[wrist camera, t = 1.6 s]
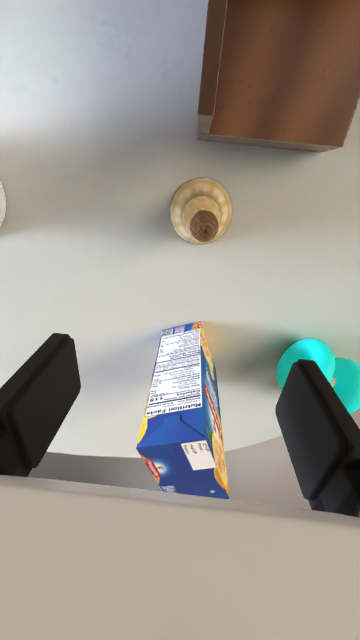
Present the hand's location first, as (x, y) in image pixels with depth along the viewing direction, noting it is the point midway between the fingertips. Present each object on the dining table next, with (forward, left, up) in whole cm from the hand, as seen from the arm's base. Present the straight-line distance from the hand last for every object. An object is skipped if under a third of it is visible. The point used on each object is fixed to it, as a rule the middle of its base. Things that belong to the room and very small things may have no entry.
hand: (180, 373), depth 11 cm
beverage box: (+2, -19, -29) cm, 35 cm away
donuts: (+23, -18, -29) cm, 41 cm away
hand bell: (+1, +4, -29) cm, 29 cm away
